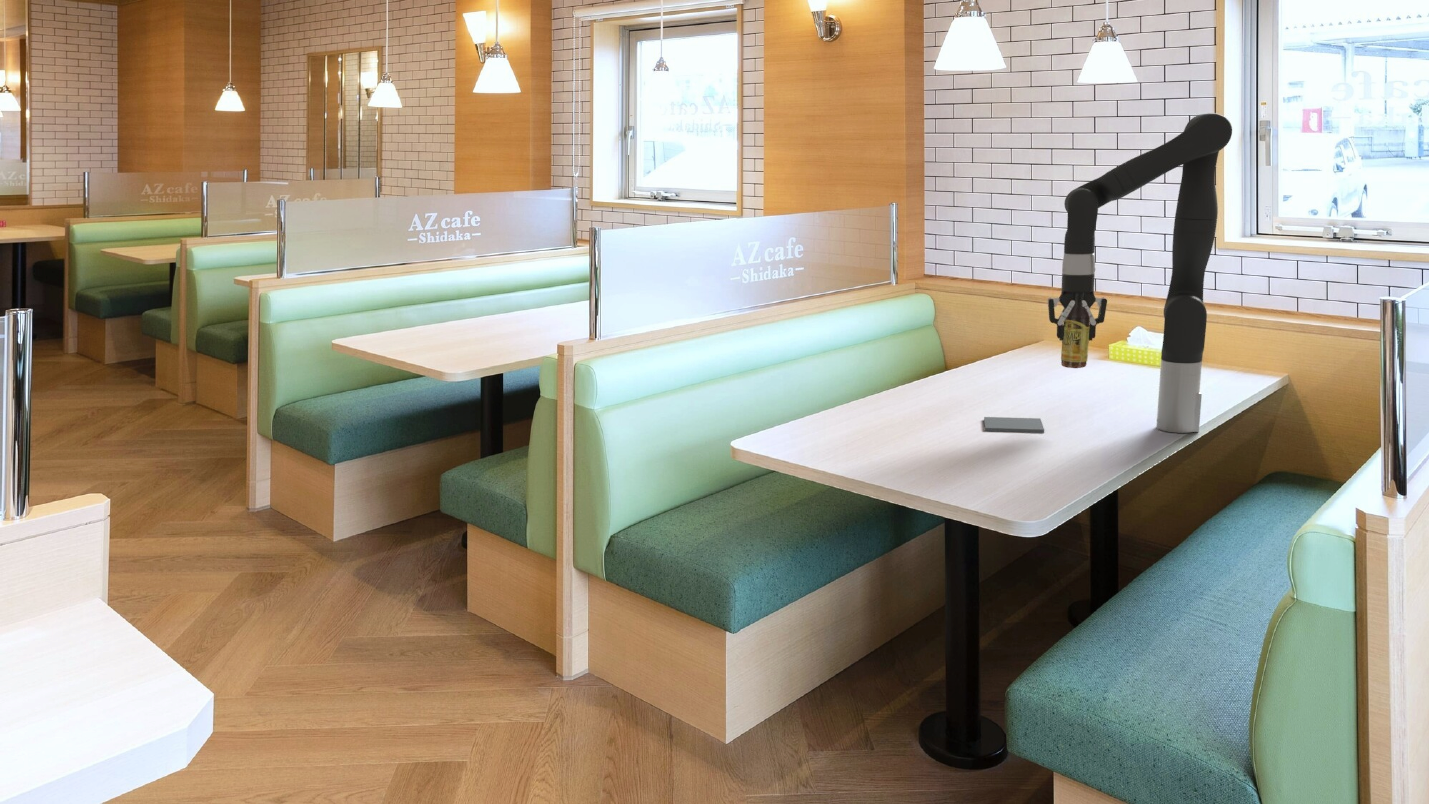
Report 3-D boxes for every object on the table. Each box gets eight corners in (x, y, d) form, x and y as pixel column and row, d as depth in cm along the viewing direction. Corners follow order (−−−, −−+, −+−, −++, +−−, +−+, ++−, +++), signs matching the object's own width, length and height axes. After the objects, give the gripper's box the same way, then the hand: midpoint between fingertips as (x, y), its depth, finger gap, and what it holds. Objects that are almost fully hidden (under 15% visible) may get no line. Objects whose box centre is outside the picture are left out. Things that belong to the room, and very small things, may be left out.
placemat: (1040, 421, 280) (1040, 418, 280) (1044, 432, 269) (1044, 429, 269) (984, 419, 283) (984, 416, 283) (985, 431, 272) (985, 427, 272)
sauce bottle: (1055, 366, 271) (1058, 286, 267) (1070, 363, 275) (1073, 284, 271) (1078, 370, 266) (1081, 288, 262) (1093, 366, 270) (1096, 286, 266)
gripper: (1107, 270, 268) (1104, 337, 271) (1046, 270, 271) (1043, 337, 274) (1111, 273, 261) (1108, 342, 264) (1048, 273, 264) (1046, 342, 267)
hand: (1075, 339), depth 269 cm, fingers closed on sauce bottle, 6 cm apart
